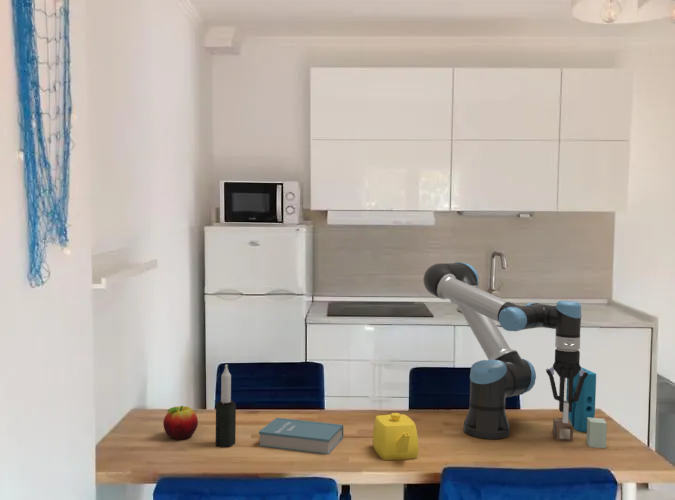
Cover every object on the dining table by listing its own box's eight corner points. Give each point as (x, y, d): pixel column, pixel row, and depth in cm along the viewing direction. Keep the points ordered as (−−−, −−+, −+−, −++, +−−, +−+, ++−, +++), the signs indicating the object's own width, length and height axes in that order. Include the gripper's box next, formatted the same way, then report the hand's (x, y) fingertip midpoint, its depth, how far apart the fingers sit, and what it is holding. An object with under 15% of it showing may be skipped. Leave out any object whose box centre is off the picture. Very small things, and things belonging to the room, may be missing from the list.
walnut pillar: (557, 425, 211) (553, 417, 220) (556, 440, 211) (552, 432, 220) (573, 426, 210) (568, 418, 219) (572, 442, 210) (568, 433, 219)
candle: (236, 442, 203) (237, 363, 202) (228, 448, 199) (229, 366, 198) (222, 440, 205) (223, 362, 204) (214, 445, 200) (214, 365, 199)
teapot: (426, 464, 188) (427, 424, 188) (385, 466, 186) (386, 426, 185) (405, 441, 208) (405, 404, 207) (367, 443, 205) (368, 406, 205)
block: (595, 433, 219) (597, 374, 219) (581, 433, 219) (583, 374, 218) (577, 422, 231) (579, 366, 230) (564, 422, 231) (566, 366, 230)
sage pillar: (589, 447, 206) (590, 421, 205) (586, 441, 210) (587, 417, 210) (605, 448, 205) (606, 423, 204) (602, 443, 209) (603, 418, 209)
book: (258, 447, 201) (258, 431, 201) (277, 431, 216) (277, 416, 216) (328, 456, 195) (328, 439, 194) (343, 439, 210) (343, 423, 210)
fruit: (204, 436, 209) (204, 405, 208) (175, 444, 201) (175, 412, 200) (185, 428, 216) (185, 399, 216) (156, 436, 208) (156, 405, 208)
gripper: (547, 350, 207) (545, 423, 208) (590, 352, 204) (588, 426, 205) (545, 345, 214) (542, 416, 215) (586, 348, 211) (584, 419, 212)
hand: (565, 421), depth 210 cm, fingers closed
